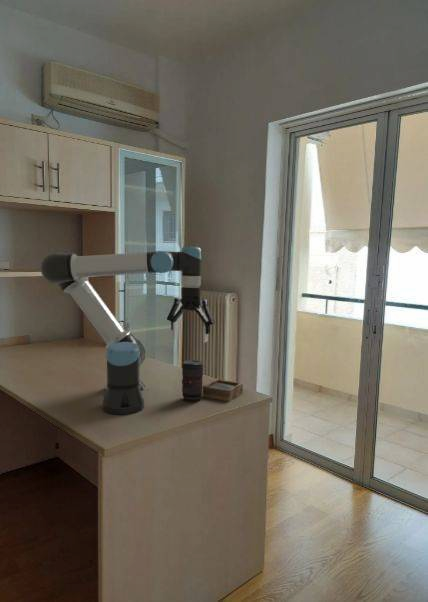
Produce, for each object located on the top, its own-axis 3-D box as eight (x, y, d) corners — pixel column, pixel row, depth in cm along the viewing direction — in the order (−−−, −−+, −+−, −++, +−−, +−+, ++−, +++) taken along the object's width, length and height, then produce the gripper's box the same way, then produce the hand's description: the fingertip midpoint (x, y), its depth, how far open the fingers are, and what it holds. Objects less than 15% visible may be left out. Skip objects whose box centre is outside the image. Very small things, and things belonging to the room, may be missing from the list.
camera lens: (200, 403, 170) (200, 365, 168) (179, 402, 172) (179, 364, 170) (204, 397, 178) (205, 360, 176) (185, 395, 179) (185, 359, 178)
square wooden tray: (229, 401, 173) (229, 391, 173) (202, 396, 179) (202, 386, 178) (242, 393, 184) (242, 383, 183) (216, 388, 189) (217, 379, 189)
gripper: (224, 287, 172) (222, 341, 174) (168, 284, 182) (168, 335, 185) (215, 289, 165) (214, 345, 167) (158, 285, 176) (158, 338, 178)
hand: (190, 340), depth 176 cm, fingers open, 13 cm apart
